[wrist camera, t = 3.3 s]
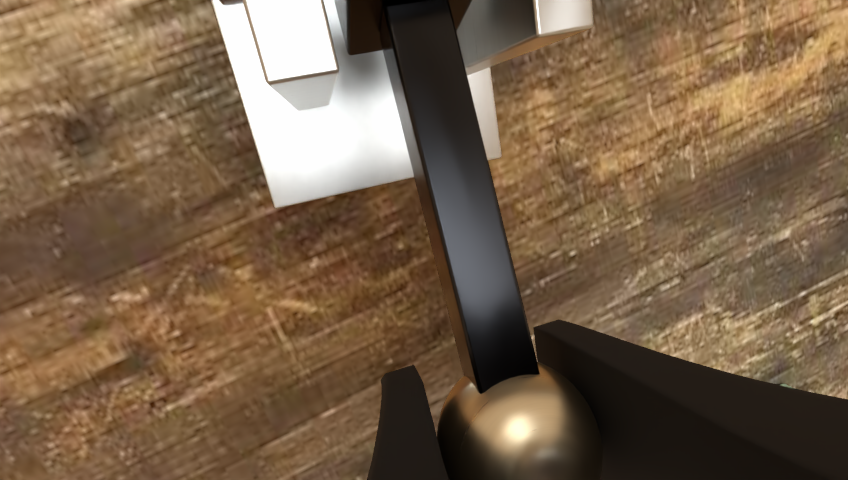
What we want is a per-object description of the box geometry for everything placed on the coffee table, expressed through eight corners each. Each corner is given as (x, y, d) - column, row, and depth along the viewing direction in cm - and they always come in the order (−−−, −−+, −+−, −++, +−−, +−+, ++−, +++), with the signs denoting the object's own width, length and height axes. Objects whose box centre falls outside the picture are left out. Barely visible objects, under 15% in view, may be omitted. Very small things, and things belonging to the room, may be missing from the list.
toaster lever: (564, 449, 9) (660, 542, 6) (442, 495, 8) (487, 618, 6) (433, -91, 8) (472, -251, 6) (297, -76, 8) (270, -244, 5)
